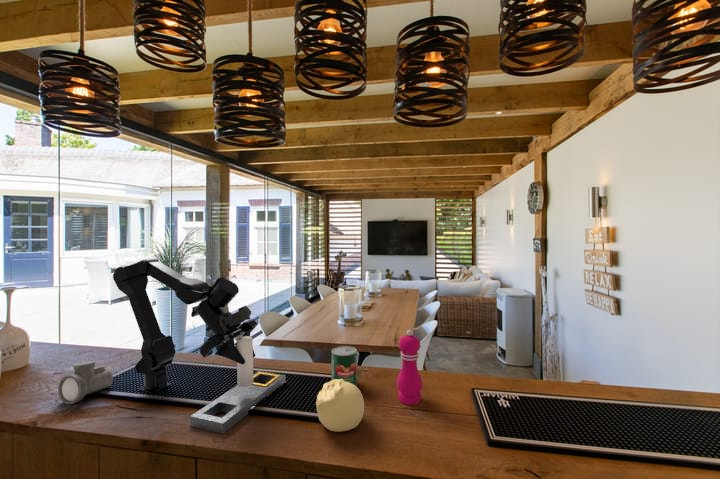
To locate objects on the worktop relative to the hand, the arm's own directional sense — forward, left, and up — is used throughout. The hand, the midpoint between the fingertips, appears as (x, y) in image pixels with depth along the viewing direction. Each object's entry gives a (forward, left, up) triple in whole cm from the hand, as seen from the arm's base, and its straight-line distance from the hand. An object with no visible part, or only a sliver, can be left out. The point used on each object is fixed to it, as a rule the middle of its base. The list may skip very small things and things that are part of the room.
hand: (249, 360), depth 96 cm
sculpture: (+27, +2, -13) cm, 30 cm away
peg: (-1, 0, -7) cm, 7 cm away
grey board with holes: (-3, 0, -12) cm, 13 cm away
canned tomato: (+18, +21, -13) cm, 31 cm away
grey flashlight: (-48, -16, -13) cm, 52 cm away
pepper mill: (+39, +21, -13) cm, 46 cm away
